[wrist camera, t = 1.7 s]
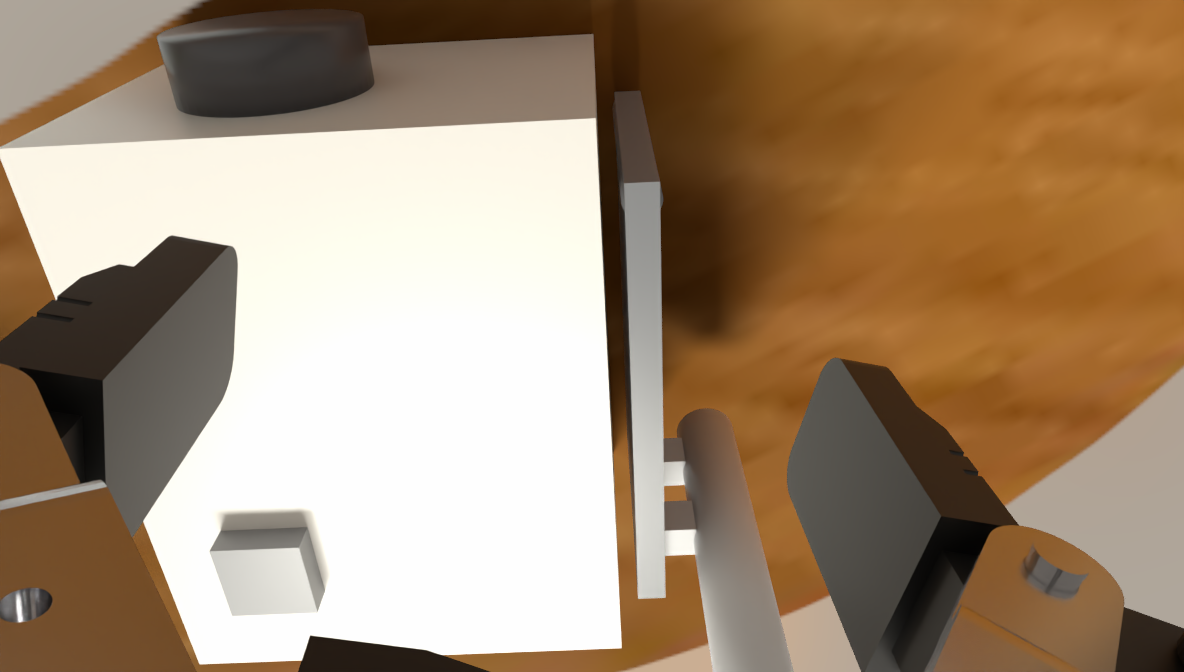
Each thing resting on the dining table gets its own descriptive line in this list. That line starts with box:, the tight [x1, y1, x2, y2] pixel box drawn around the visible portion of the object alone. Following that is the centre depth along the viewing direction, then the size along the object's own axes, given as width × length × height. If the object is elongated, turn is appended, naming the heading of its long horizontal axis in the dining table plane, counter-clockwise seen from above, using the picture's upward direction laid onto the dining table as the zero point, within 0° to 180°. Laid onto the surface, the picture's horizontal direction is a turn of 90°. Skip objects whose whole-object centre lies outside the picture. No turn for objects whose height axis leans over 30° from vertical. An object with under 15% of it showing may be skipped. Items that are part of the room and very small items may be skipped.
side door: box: [612, 91, 794, 672], centre depth 29 cm, size 5×16×18 cm, turn 3°
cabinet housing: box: [0, 9, 622, 664], centre depth 32 cm, size 16×22×13 cm
